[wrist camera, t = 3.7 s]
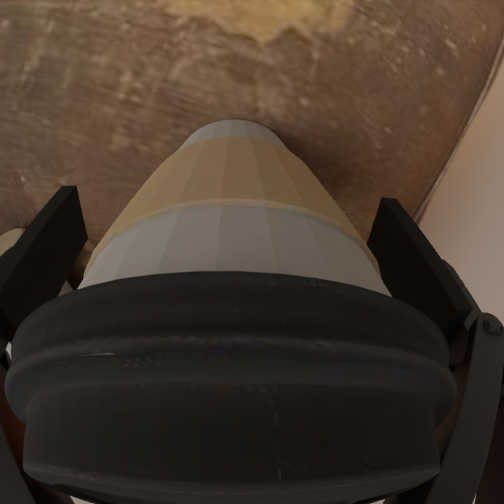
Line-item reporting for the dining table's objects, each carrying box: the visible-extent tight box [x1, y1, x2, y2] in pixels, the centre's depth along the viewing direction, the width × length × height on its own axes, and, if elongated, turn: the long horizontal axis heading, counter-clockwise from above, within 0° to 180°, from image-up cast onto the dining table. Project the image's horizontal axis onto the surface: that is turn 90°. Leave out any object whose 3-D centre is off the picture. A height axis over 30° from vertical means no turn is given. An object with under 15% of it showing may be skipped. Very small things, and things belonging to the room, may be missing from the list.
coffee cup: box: [4, 119, 457, 504], centre depth 10 cm, size 9×9×15 cm
